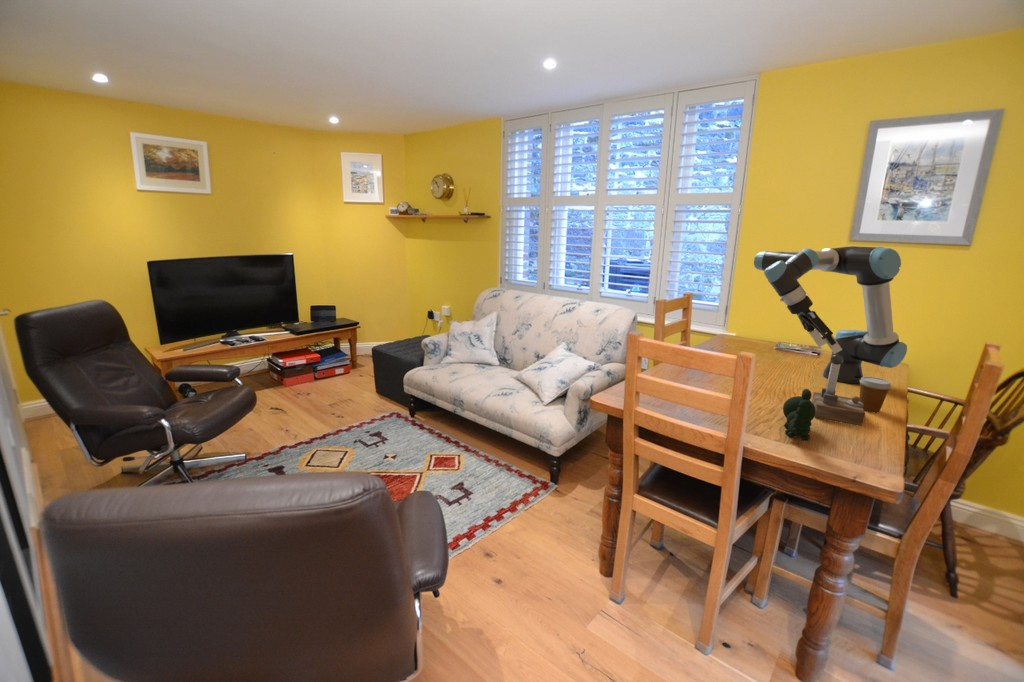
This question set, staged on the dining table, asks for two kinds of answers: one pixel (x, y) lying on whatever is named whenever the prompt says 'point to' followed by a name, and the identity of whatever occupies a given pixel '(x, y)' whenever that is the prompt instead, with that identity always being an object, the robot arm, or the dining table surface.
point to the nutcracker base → (838, 408)
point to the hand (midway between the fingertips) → (830, 348)
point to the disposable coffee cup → (873, 393)
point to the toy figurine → (799, 415)
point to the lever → (833, 373)
